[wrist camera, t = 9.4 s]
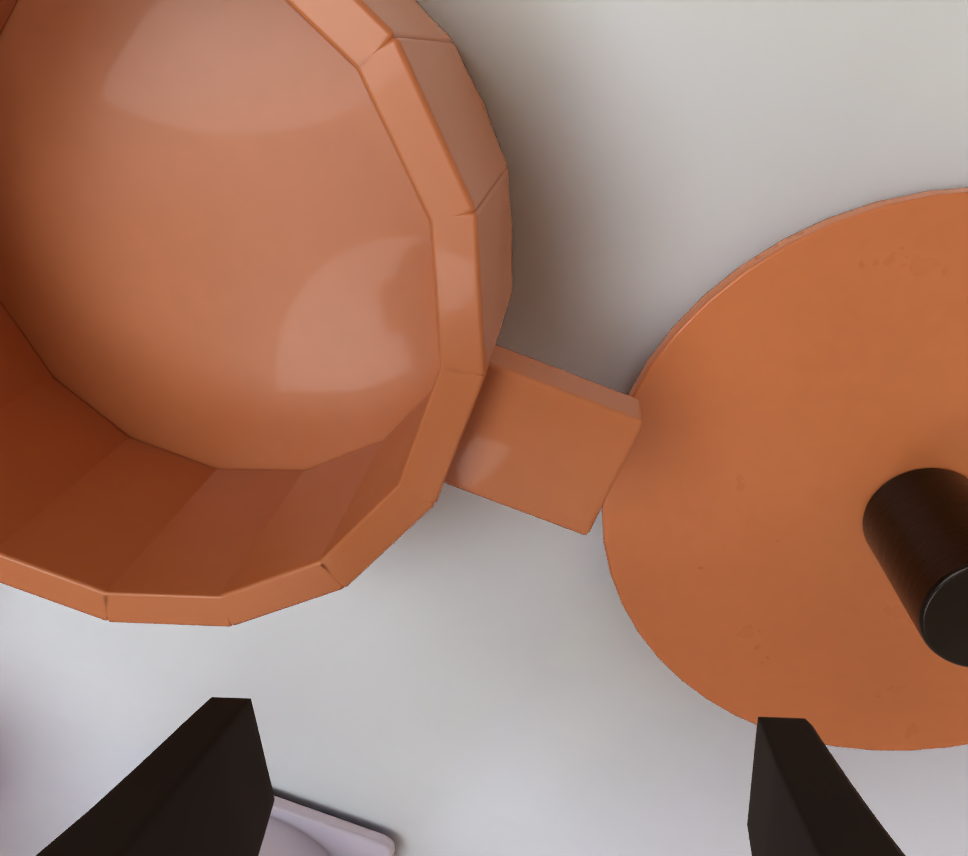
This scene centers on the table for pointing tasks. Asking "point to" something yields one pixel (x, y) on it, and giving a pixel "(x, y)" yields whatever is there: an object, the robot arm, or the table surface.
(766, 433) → the lid
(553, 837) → the table surface
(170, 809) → the robot arm
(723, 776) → the table surface
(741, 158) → the table surface
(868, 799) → the table surface
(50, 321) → the pan
